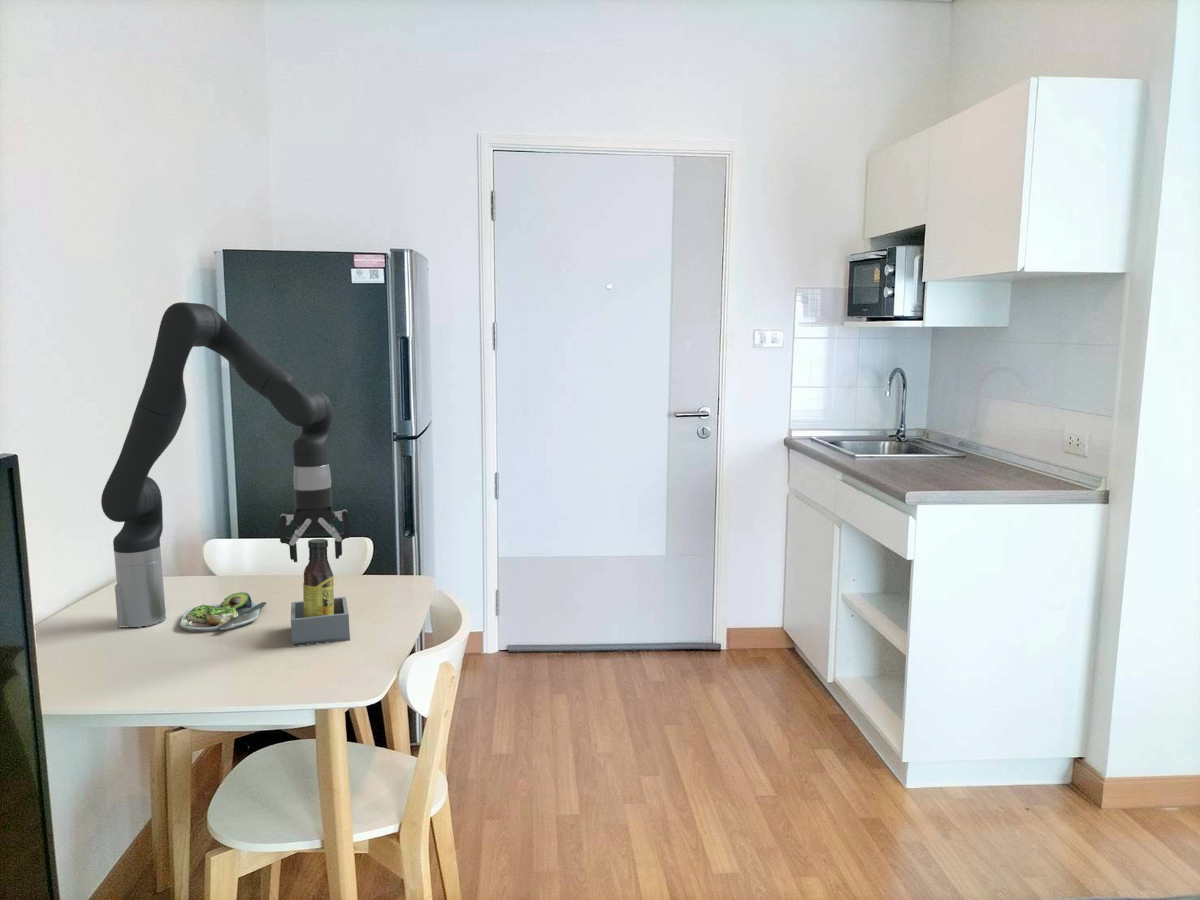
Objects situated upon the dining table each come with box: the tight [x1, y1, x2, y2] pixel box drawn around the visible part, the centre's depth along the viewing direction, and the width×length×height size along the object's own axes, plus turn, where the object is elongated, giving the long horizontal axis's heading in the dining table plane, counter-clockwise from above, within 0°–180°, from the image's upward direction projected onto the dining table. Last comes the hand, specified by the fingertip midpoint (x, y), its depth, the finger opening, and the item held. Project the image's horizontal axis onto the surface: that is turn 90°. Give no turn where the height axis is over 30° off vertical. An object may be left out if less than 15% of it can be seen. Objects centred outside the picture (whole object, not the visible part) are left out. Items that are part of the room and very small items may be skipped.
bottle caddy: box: [290, 596, 351, 647], centre depth 187 cm, size 12×13×6 cm
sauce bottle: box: [302, 538, 335, 618], centre depth 186 cm, size 6×6×20 cm
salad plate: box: [179, 591, 268, 633], centre depth 196 cm, size 19×18×5 cm
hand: (316, 559), depth 185 cm, fingers open, 8 cm apart
